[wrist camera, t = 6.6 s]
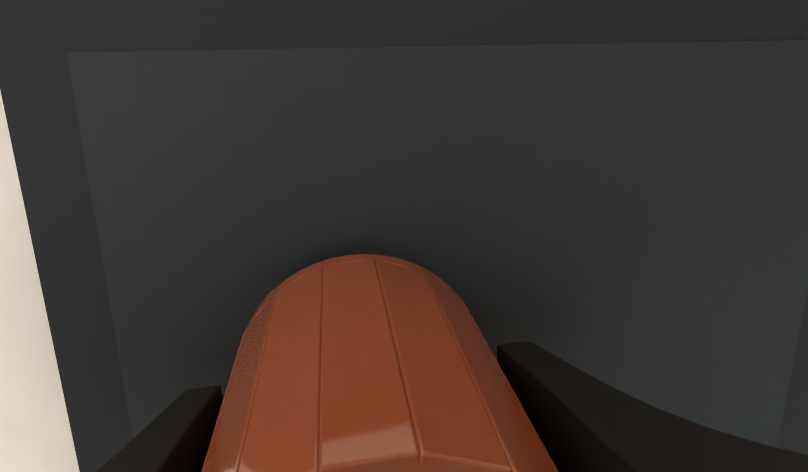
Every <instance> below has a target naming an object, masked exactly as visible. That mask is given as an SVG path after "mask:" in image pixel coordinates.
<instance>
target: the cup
mask: <svg viewBox="0 0 808 472" xmlns="http://www.w3.org/2000/svg"><path fill="white" fill-rule="evenodd" d="M201 472H559V471H558V469H557V467H556V466H555V464H554V462H553V460H552V458H551V457H550V455H549V453H548V451H547V450H546V448H545V446H544V444H543V442H542V441H541V439H540V437H539V435H538V433H537V432H536V430H535V428H534V426H533V424H532V423H531V421H530V419H529V417H528V415H527V414H526V412H525V410H524V408H523V406H522V405H521V403H520V401H519V399H518V397H517V396H516V394H515V392H514V390H513V388H512V387H511V385H510V383H509V381H508V379H507V378H506V376H505V374H504V372H503V370H502V369H501V367H500V365H499V363H498V361H497V360H496V358H495V356H494V354H493V352H492V351H491V349H490V347H489V345H488V343H487V342H486V340H485V338H484V336H483V334H482V333H481V331H480V329H479V327H478V325H477V324H476V322H475V320H474V318H473V317H472V315H471V313H470V311H469V309H468V308H467V306H466V304H465V303H464V302H463V300H462V299H461V298H460V297H459V296H458V294H457V293H456V292H455V291H454V290H453V289H452V288H451V287H450V286H449V285H448V284H447V283H446V282H444V281H443V280H442V279H441V278H440V277H438V276H436V275H435V274H433V273H432V272H430V271H429V270H427V269H425V268H423V267H421V266H419V265H417V264H415V263H412V262H409V261H406V260H403V259H400V258H396V257H390V256H385V255H376V254H355V255H345V256H340V257H335V258H330V259H327V260H324V261H321V262H318V263H315V264H313V265H310V266H308V267H306V268H304V269H302V270H300V271H298V272H297V273H295V274H293V275H292V276H290V277H289V278H287V279H285V280H284V281H283V282H282V283H281V284H279V285H278V286H277V287H276V288H275V289H273V290H272V291H271V293H270V294H269V295H268V296H267V297H266V298H265V299H264V300H263V301H262V302H261V304H260V305H259V307H258V308H257V310H256V311H255V312H254V314H253V315H252V317H251V319H250V321H249V323H248V325H247V327H246V329H245V331H244V333H243V335H242V338H241V341H240V345H239V348H238V351H237V355H236V358H235V361H234V365H233V368H232V371H231V375H230V378H229V381H228V385H227V388H226V391H225V395H224V398H223V401H222V405H221V408H220V411H219V415H218V418H217V421H216V424H215V428H214V431H213V434H212V438H211V441H210V444H209V448H208V451H207V454H206V458H205V461H204V464H203V468H202V471H201Z"/></svg>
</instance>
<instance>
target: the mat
mask: <svg viewBox="0 0 808 472" xmlns="http://www.w3.org/2000/svg"><path fill="white" fill-rule="evenodd" d="M0 90H1V94H2V99H3V104H4V109H5V114H6V119H7V123H8V128H9V133H10V138H11V143H12V147H13V152H14V157H15V162H16V167H17V172H18V176H19V181H20V186H21V191H22V196H23V200H24V205H25V210H26V215H27V220H28V224H29V229H30V234H31V239H32V244H33V249H34V253H35V258H36V263H37V268H38V273H39V277H40V282H41V287H42V292H43V297H44V302H45V306H46V311H47V316H48V321H49V326H50V330H51V335H52V340H53V345H54V350H55V355H56V359H57V364H58V369H59V374H60V379H61V383H62V388H63V393H64V398H65V403H66V407H67V412H68V417H69V422H70V427H71V432H72V436H73V441H74V446H75V451H76V456H77V460H78V465H79V470H80V472H96V471H97V470H98V469H99V468H100V467H101V466H103V465H104V464H105V463H106V462H107V461H109V460H110V459H111V458H112V457H113V456H114V455H116V454H117V453H118V452H119V451H120V450H121V449H122V448H124V447H125V446H126V445H127V444H128V443H129V442H130V441H131V440H132V439H133V438H134V437H135V436H137V435H138V434H139V433H140V432H141V431H142V430H143V429H144V428H145V427H146V426H147V425H149V424H150V423H151V422H152V421H153V420H154V419H155V418H156V417H157V416H158V415H159V414H160V413H161V412H162V411H163V410H164V409H166V408H167V407H168V406H169V405H170V404H171V403H172V402H173V401H174V400H175V399H177V398H178V397H179V396H180V395H181V394H182V393H184V392H185V391H186V390H189V389H196V388H203V387H210V386H217V385H220V386H221V390H222V395H223V398H224V395H225V391H226V388H227V385H228V381H229V378H230V375H231V371H232V368H233V365H234V361H235V358H236V355H237V351H238V348H239V345H240V341H241V338H242V335H243V333H244V331H245V329H246V327H247V325H248V323H249V321H250V319H251V317H252V315H253V314H254V312H255V311H256V310H257V308H258V307H259V305H260V304H261V302H262V301H263V300H264V299H265V298H266V297H267V296H268V295H269V294H270V293H271V291H272V290H273V289H275V288H276V287H277V286H278V285H279V284H281V283H282V282H283V281H284V280H285V279H287V278H289V277H290V276H292V275H293V274H295V273H297V272H298V271H300V270H302V269H304V268H306V267H308V266H310V265H313V264H315V263H318V262H321V261H324V260H327V259H330V258H335V257H340V256H345V255H355V254H376V255H385V256H390V257H396V258H400V259H403V260H406V261H409V262H412V263H415V264H417V265H419V266H421V267H423V268H425V269H427V270H429V271H430V272H432V273H433V274H435V275H436V276H438V277H440V278H441V279H442V280H443V281H444V282H446V283H447V284H448V285H449V286H450V287H451V288H452V289H453V290H454V291H455V292H456V293H457V294H458V296H459V297H460V298H461V299H462V300H463V302H464V303H465V304H466V306H467V308H468V309H469V311H470V313H471V315H472V317H473V318H474V320H475V322H476V324H477V325H478V327H479V329H480V331H481V333H482V334H483V336H484V338H485V340H486V342H487V343H488V345H489V347H490V349H491V351H492V352H493V354H494V356H495V358H496V360H497V345H500V344H507V343H514V342H521V341H529V342H531V343H534V344H536V345H537V346H539V347H541V348H543V349H545V350H547V351H548V352H550V353H552V354H554V355H555V356H557V357H559V358H561V359H562V360H564V361H566V362H568V363H569V364H571V365H573V366H575V367H576V368H578V369H580V370H582V371H584V372H585V373H587V374H589V375H591V376H593V377H595V378H596V379H598V380H600V381H602V382H604V383H606V384H608V385H610V386H612V387H614V388H616V389H618V390H620V391H622V392H624V393H626V394H628V395H630V396H632V397H635V398H637V399H639V400H641V401H643V402H645V403H647V404H650V405H652V406H654V407H657V408H659V409H661V410H664V411H666V412H669V413H671V414H674V415H677V416H679V417H682V418H684V419H687V420H690V421H692V422H695V423H698V424H700V425H703V426H706V427H709V428H712V429H715V430H718V431H721V432H724V433H727V434H731V435H734V436H738V437H741V438H744V439H748V440H751V441H755V442H758V443H762V444H765V445H769V446H772V447H777V448H781V449H785V450H789V451H793V452H797V453H801V454H806V455H808V0H0Z"/></svg>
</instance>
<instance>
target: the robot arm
mask: <svg viewBox="0 0 808 472" xmlns="http://www.w3.org/2000/svg"><path fill="white" fill-rule="evenodd" d="M497 361H498V363H499V365H500V367H501V369H502V370H503V372H504V374H505V376H506V378H507V379H508V381H509V383H510V385H511V387H512V388H513V390H514V392H515V394H516V396H517V397H518V399H519V401H520V403H521V405H522V406H523V408H524V410H525V412H526V414H527V415H528V417H529V419H530V421H531V423H532V424H533V426H534V428H535V430H536V432H537V433H538V435H539V437H540V439H541V441H542V442H543V444H544V446H545V448H546V450H547V451H548V453H549V455H550V457H551V458H552V460H553V462H554V464H555V466H556V467H557V469H558V471H559V472H808V455H806V454H801V453H797V452H793V451H789V450H785V449H781V448H777V447H772V446H769V445H765V444H762V443H758V442H755V441H751V440H748V439H744V438H741V437H738V436H734V435H731V434H727V433H724V432H721V431H718V430H715V429H712V428H709V427H706V426H703V425H700V424H698V423H695V422H692V421H690V420H687V419H684V418H682V417H679V416H677V415H674V414H671V413H669V412H666V411H664V410H661V409H659V408H657V407H654V406H652V405H650V404H647V403H645V402H643V401H641V400H639V399H637V398H635V397H632V396H630V395H628V394H626V393H624V392H622V391H620V390H618V389H616V388H614V387H612V386H610V385H608V384H606V383H604V382H602V381H600V380H598V379H596V378H595V377H593V376H591V375H589V374H587V373H585V372H584V371H582V370H580V369H578V368H576V367H575V366H573V365H571V364H569V363H568V362H566V361H564V360H562V359H561V358H559V357H557V356H555V355H554V354H552V353H550V352H548V351H547V350H545V349H543V348H541V347H539V346H537V345H536V344H534V343H531V342H529V341H521V342H514V343H507V344H500V345H497ZM222 401H223V395H222V390H221V386H220V385H217V386H210V387H203V388H196V389H189V390H186V391H185V392H184V393H182V394H181V395H180V396H179V397H178V398H177V399H175V400H174V401H173V402H172V403H171V404H170V405H169V406H168V407H167V408H166V409H164V410H163V411H162V412H161V413H160V414H159V415H158V416H157V417H156V418H155V419H154V420H153V421H152V422H151V423H150V424H149V425H147V426H146V427H145V428H144V429H143V430H142V431H141V432H140V433H139V434H138V435H137V436H135V437H134V438H133V439H132V440H131V441H130V442H129V443H128V444H127V445H126V446H125V447H124V448H122V449H121V450H120V451H119V452H118V453H117V454H116V455H114V456H113V457H112V458H111V459H110V460H109V461H107V462H106V463H105V464H104V465H103V466H101V467H100V468H99V469H98V470H97V471H96V472H201V471H202V468H203V464H204V461H205V458H206V454H207V451H208V448H209V444H210V441H211V438H212V434H213V431H214V428H215V424H216V421H217V418H218V415H219V411H220V408H221V405H222Z"/></svg>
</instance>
